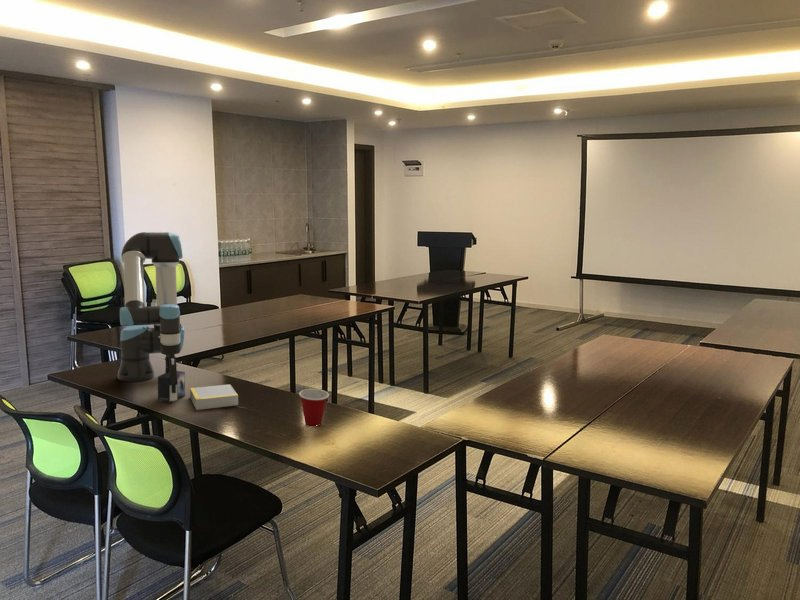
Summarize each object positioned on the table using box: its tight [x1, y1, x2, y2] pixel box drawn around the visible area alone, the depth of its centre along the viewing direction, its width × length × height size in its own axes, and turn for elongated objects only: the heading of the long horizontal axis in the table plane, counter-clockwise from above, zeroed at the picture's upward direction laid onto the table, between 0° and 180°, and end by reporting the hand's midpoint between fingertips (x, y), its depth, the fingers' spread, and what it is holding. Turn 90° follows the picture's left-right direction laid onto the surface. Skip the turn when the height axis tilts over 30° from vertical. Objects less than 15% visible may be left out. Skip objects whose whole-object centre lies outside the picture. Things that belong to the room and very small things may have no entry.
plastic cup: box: [298, 388, 330, 427], centre depth 230 cm, size 11×11×12 cm
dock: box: [189, 384, 239, 411], centre depth 253 cm, size 16×16×4 cm
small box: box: [157, 370, 186, 404], centre depth 253 cm, size 11×6×10 cm, turn 168°
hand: (171, 395), depth 254 cm, fingers closed on small box, 12 cm apart
